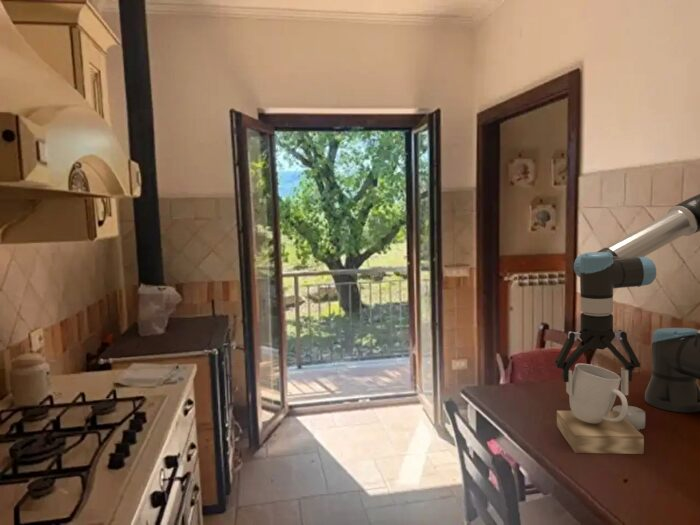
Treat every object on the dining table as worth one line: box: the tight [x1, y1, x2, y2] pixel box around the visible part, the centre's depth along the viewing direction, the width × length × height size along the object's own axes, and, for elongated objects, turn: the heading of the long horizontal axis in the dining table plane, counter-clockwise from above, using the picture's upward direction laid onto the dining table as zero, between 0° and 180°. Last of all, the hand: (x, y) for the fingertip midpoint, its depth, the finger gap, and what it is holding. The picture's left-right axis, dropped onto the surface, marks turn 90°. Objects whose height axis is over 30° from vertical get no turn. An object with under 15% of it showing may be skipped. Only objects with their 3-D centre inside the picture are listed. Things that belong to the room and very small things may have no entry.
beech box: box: [556, 410, 645, 455], centre depth 134 cm, size 16×16×5 cm
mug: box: [568, 363, 629, 424], centre depth 132 cm, size 15×11×13 cm
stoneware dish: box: [611, 404, 646, 431], centre depth 142 cm, size 8×8×4 cm
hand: (596, 393), depth 133 cm, fingers open, 13 cm apart
